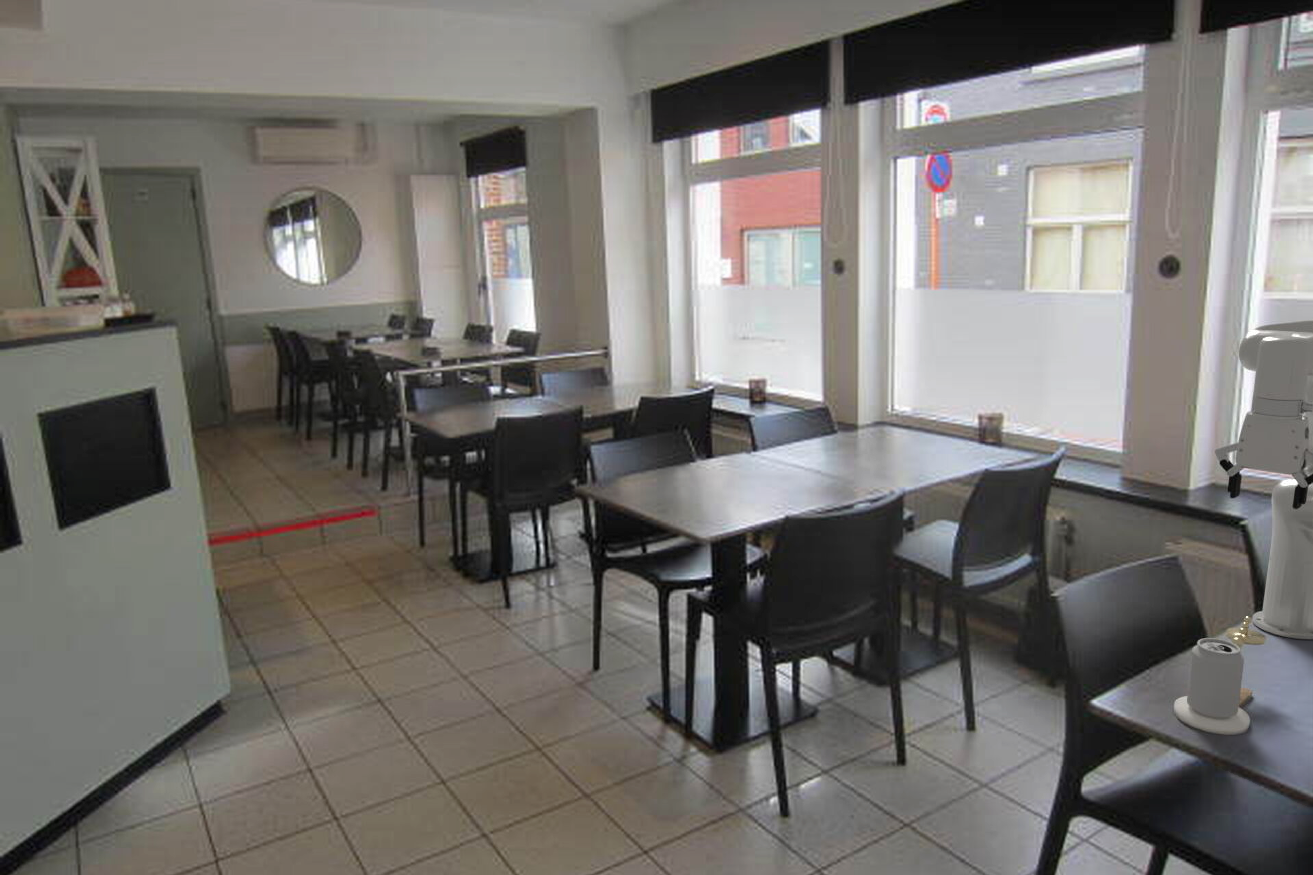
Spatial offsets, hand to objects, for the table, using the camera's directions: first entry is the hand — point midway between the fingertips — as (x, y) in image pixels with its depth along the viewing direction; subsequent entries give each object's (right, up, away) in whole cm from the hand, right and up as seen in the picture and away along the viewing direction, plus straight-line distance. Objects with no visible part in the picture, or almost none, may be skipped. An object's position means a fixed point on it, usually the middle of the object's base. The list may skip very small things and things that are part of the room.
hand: (1265, 501), depth 164 cm
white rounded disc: (-15, -36, -8) cm, 40 cm away
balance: (-6, -34, 0) cm, 35 cm away
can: (-14, -35, -8) cm, 39 cm away
